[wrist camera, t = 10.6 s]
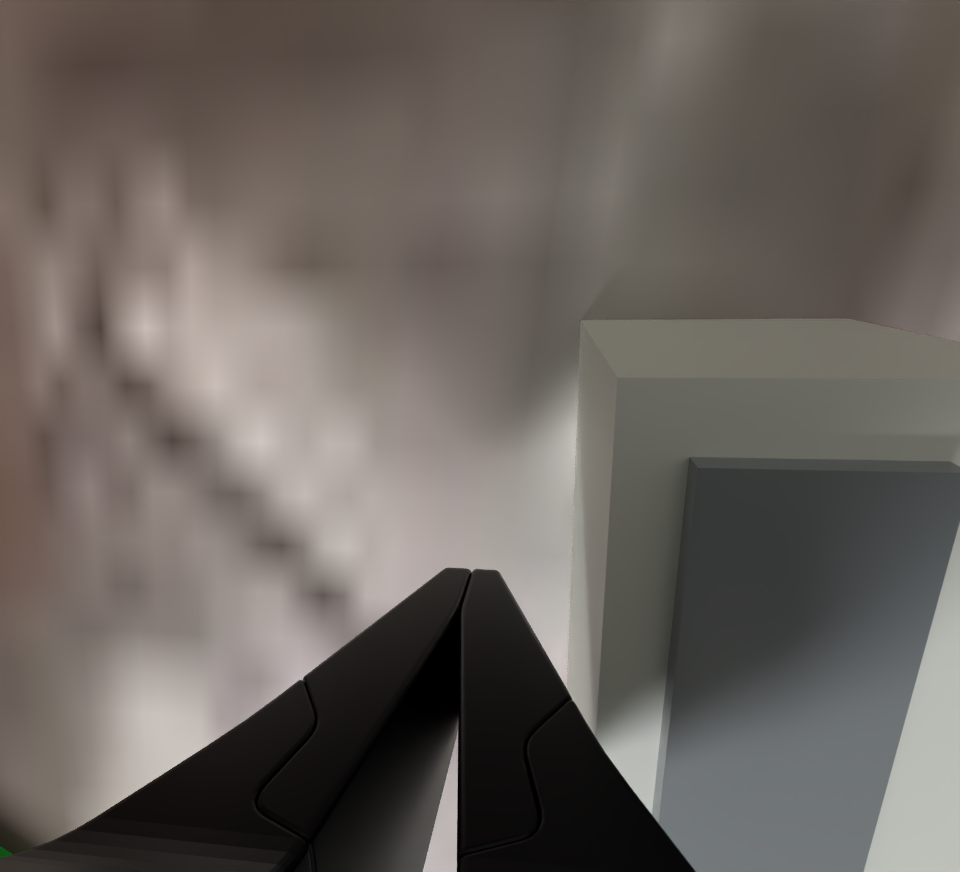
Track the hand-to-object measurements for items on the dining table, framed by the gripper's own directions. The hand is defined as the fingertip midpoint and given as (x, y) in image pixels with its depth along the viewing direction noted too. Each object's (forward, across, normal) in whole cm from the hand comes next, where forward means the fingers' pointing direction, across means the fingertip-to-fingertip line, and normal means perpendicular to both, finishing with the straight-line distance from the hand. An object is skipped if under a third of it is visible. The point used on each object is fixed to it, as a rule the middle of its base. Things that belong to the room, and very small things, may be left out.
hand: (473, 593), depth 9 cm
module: (+3, -4, 0) cm, 5 cm away
